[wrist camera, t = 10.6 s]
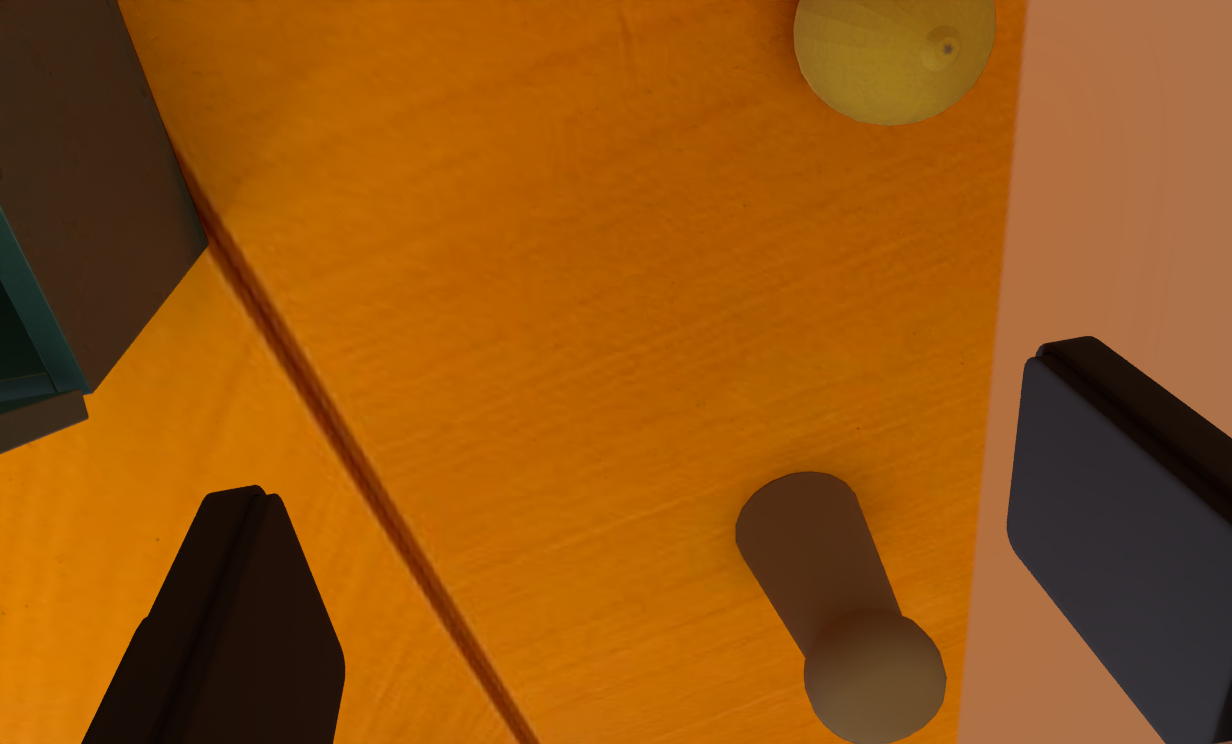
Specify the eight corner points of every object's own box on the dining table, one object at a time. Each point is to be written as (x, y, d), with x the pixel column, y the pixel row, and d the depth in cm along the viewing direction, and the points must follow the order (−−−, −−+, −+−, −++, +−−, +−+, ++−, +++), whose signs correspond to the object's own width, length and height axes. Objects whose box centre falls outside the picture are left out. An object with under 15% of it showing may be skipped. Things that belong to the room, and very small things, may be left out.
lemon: (949, 5, 31) (1085, 37, 24) (835, 127, 33) (931, 191, 26) (849, -114, 29) (967, -116, 22) (731, 24, 30) (806, 63, 23)
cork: (768, 593, 43) (849, 793, 34) (713, 513, 40) (784, 706, 31) (878, 535, 42) (994, 722, 33) (830, 449, 40) (941, 627, 30)
